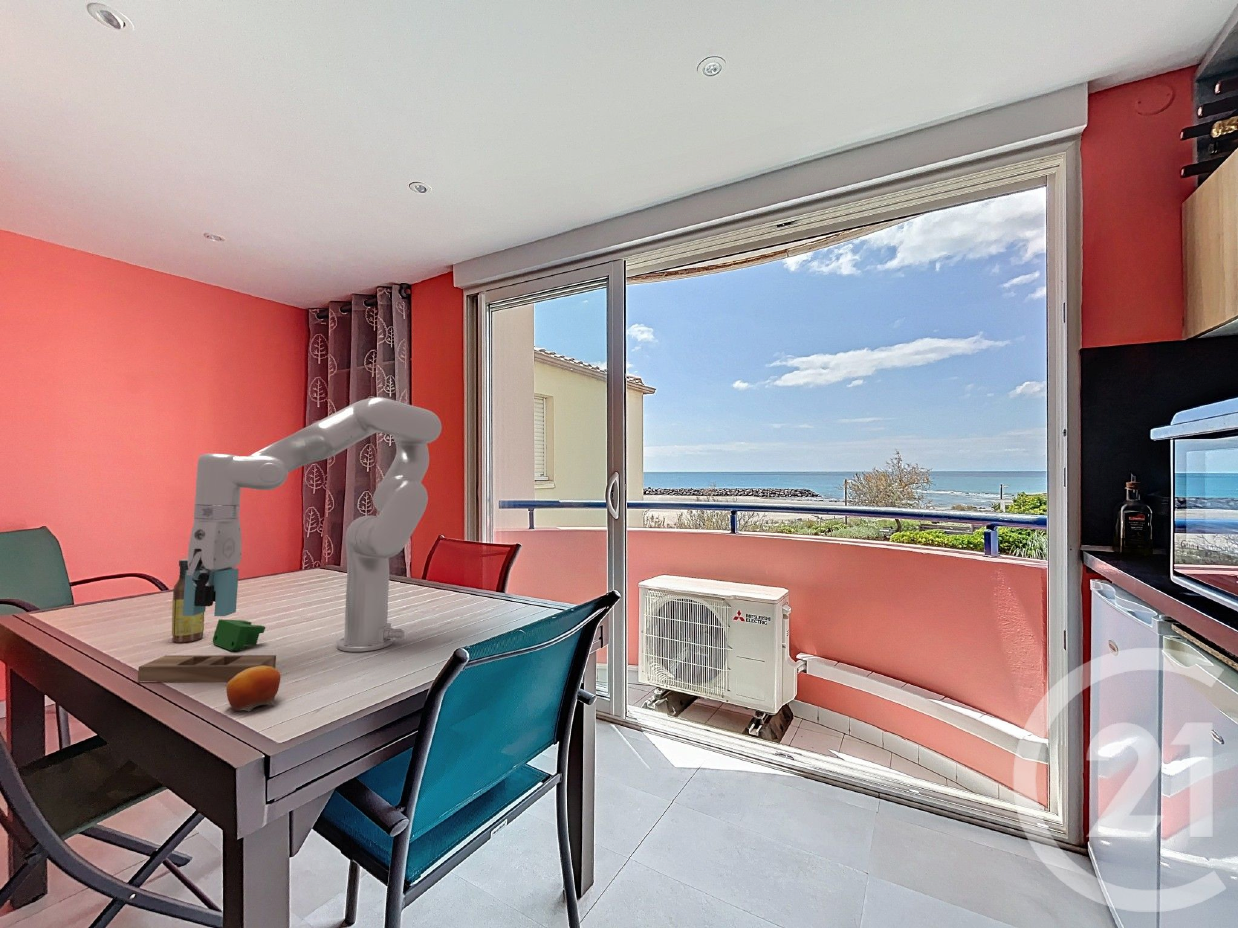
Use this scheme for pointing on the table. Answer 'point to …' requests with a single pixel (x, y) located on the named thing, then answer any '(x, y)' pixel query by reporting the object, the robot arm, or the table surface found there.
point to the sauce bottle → (182, 625)
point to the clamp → (236, 634)
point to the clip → (225, 593)
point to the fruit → (253, 687)
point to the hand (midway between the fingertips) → (210, 602)
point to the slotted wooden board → (201, 667)
